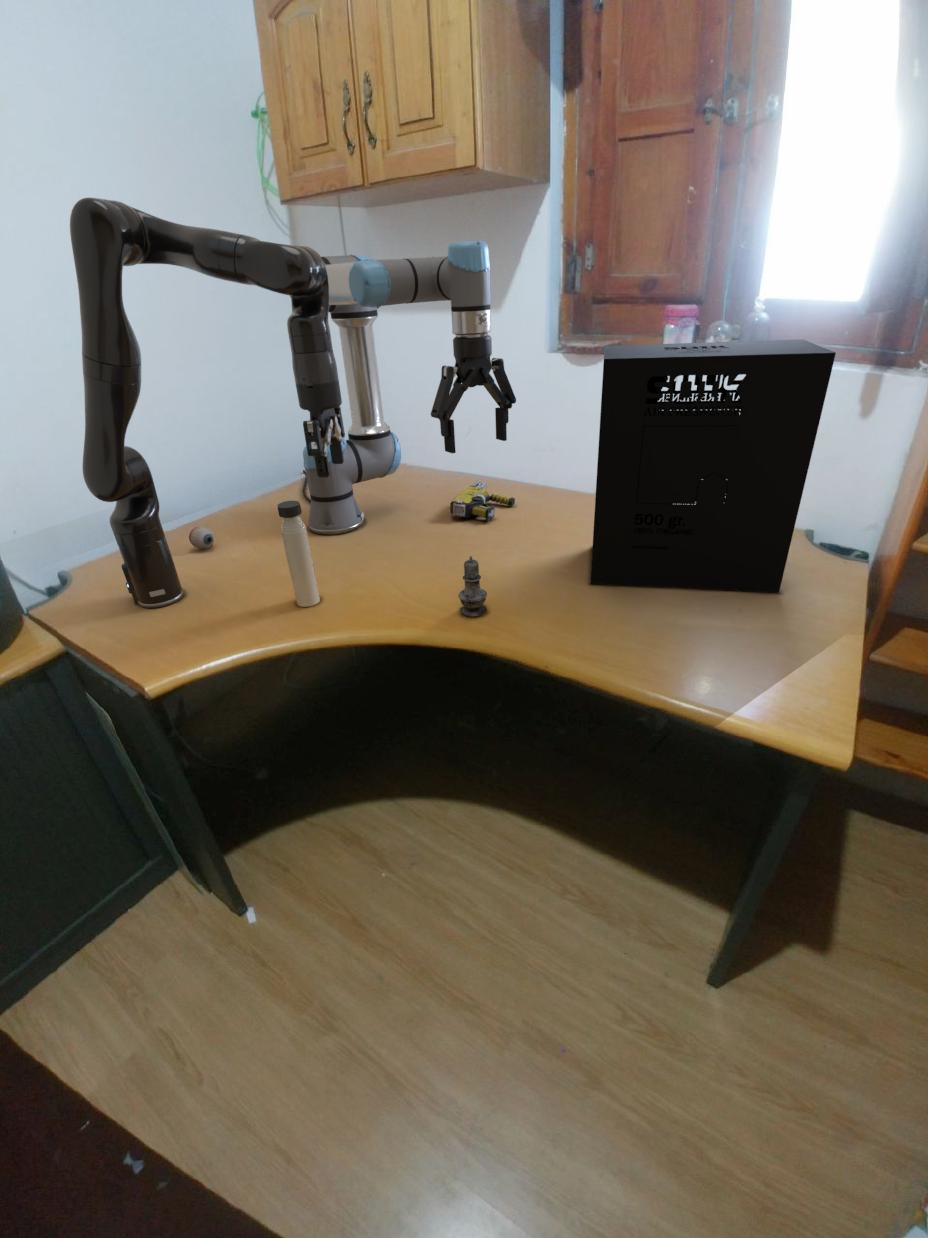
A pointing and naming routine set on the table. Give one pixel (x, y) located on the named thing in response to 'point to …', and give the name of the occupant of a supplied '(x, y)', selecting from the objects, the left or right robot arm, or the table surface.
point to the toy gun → (477, 502)
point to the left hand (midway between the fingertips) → (331, 469)
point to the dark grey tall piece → (472, 590)
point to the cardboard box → (704, 462)
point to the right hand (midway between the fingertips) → (476, 445)
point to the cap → (289, 509)
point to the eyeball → (201, 537)
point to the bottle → (300, 561)
